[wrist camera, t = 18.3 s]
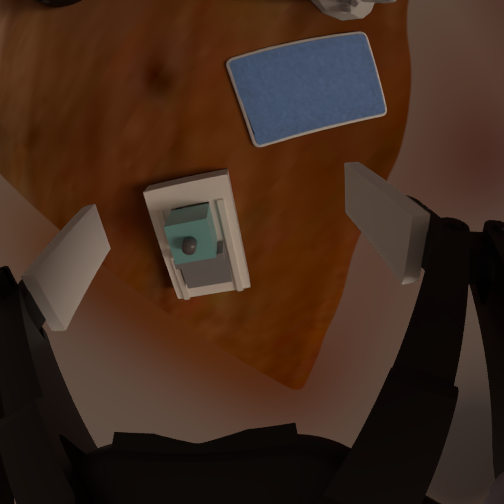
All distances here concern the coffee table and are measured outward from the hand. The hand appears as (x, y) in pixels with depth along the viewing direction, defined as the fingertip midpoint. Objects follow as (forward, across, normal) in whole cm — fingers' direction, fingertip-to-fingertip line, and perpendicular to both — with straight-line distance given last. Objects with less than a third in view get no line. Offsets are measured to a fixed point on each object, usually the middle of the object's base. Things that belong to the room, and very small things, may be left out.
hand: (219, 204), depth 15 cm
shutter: (+22, -5, -17) cm, 28 cm away
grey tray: (+25, -6, -14) cm, 29 cm away
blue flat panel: (+26, +12, +5) cm, 29 cm away
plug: (+25, -6, -11) cm, 27 cm away
